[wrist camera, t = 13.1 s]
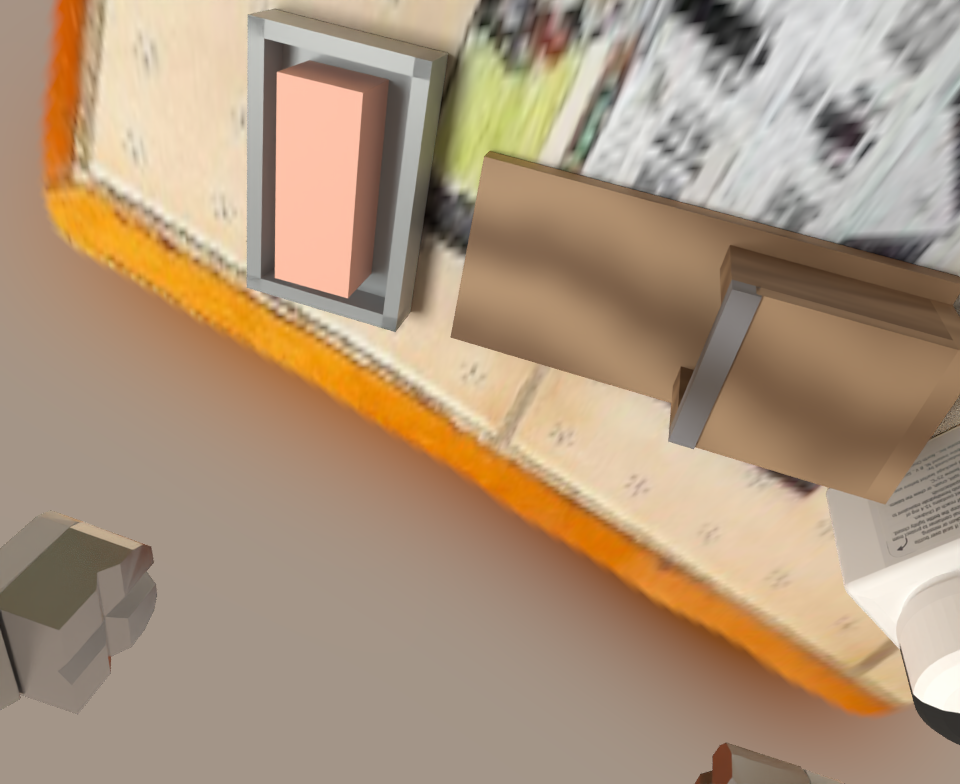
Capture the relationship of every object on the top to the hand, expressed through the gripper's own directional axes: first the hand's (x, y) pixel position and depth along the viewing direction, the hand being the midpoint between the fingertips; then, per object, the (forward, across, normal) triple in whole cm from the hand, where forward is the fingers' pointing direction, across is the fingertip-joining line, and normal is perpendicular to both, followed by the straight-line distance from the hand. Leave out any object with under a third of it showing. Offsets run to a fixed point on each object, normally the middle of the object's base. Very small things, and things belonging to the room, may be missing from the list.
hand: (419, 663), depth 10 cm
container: (+29, +21, -14) cm, 39 cm away
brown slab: (+29, +5, -7) cm, 30 cm away
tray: (+29, -13, -5) cm, 32 cm away
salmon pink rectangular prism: (+28, -13, -5) cm, 32 cm away
